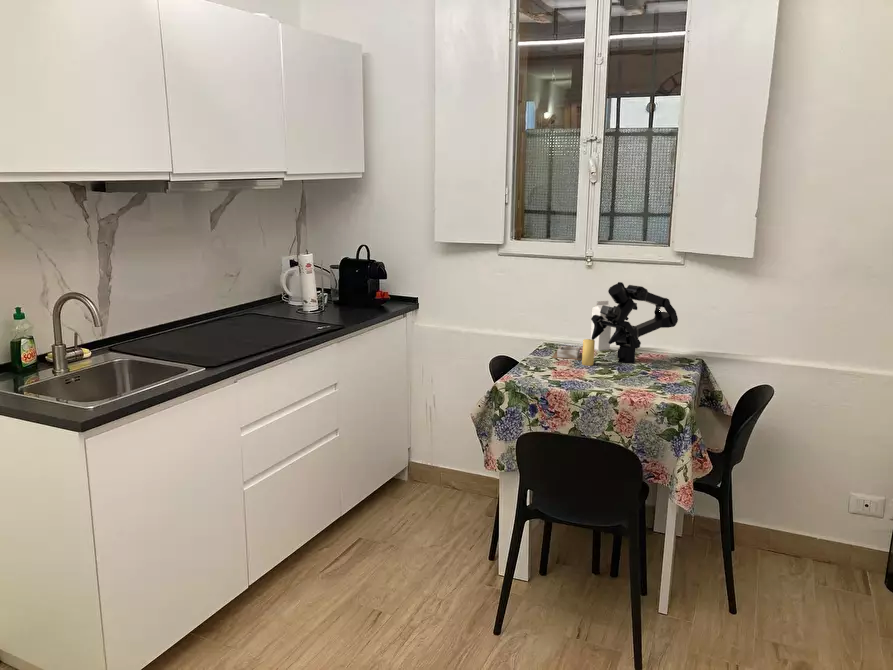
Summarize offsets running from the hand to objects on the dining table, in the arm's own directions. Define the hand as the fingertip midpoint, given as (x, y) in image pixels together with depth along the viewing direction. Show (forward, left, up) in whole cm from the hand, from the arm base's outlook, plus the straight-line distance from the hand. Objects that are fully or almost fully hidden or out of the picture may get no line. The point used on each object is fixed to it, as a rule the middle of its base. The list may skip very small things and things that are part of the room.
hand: (600, 341), depth 278 cm
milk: (+2, -26, -10) cm, 28 cm away
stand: (+13, -7, -10) cm, 18 cm away
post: (+4, +5, -10) cm, 12 cm away
